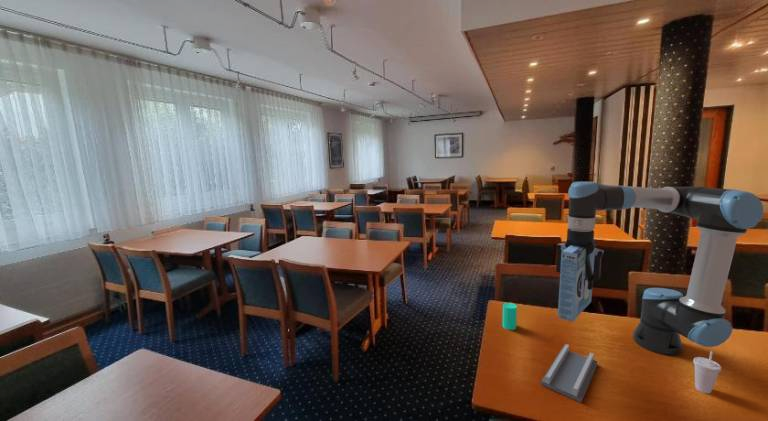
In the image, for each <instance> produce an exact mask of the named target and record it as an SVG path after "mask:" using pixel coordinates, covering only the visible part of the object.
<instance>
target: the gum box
mask: <svg viewBox="0 0 768 421" xmlns="http://www.w3.org/2000/svg"><path fill="white" fill-rule="evenodd" d="M593 244H594V246H595V247H596V244H597V243H596V240H594V241H593ZM594 253H595V252H594V251H592V252H591V253H590V254H589V257H590V258H589V259H590V263H591V267H592V271H593V272H595V258H596V255H595V254H594ZM585 255H586V248H585V247H580V246H572V245H571V246H569V247H568V248H566V247H565V249H564V250H563V251H562V255H561V272H560V273H559V274H560V275H559V290H558V305H557V307H558V308H557V318H560V319H562V320H565V321H567V322H571V323H574V321H575V320H577V318H578V317H579V316H580V315H581V314H582V313H583V311H584V310H585V309H586V308H587V307H588V306H589V305H590V304H591V303H592V296H593V288H592V289H591V290H589V294H588V298H587V299H584V289H585V280H586V279H587V278H588V277H587V273H586V269H585V266H586V260H585ZM587 257H588V256H587Z"/></svg>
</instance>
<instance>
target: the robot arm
mask: <svg viewBox="0 0 768 421" xmlns="http://www.w3.org/2000/svg"><path fill="white" fill-rule="evenodd" d="M568 188H569V189H568V193H567V195H568V197H569V198H568V217H567V227H568V228H567V231H566V241H565V242H564V243H560V242H559V243H558V244H556V245H555V248H556V251H557V252H556V253H557V254H556V255H557V256H556V264H555V265H556V268H555V272H557V273H559V274H560V272H561V255H562V251H563V250H564V249H566V248H568V247H569V246H571V245H572V246H580V247H585V248H586V255H585V260H586V266H585V269H586V273H587V277H588V278H587V279H586V280H585V289H584V299H587V298H588V294H589V290H591V289H592V290H593V287H594V281H599V280H600V279H601V275H602V272H601V271H602V257H603V254H604V253H605V250H604V249H603V248H602V249H599V248H597V247H596V245H595V246H594V244H593V241H595V239H594V238H595V231H594V229H595V228H596V227H595V226H596V214H597V211H622V210H627V209H631V208H638V209H651V210H658V211H660V212H662V213H669V214H673V215H674V214H675V215H678V216H682V217H687V218H689V219H693V220H696V228H697V229H698V230H699V231H700V235H699V240H698V244H697V247H696V252H695V256H694V262H693V265H692V268H691V274H690V277H689V278H690V279H689V283H688V287H687V290H686V291H687V292H686V295H685V296H684V295H683V293H682V292H680V291H677V290H675V289H672V288H671V289H669V288H664V287H649V288H646V289H644V290H643V295H642V298H641V299H642V301H641V311H640V321H639V323H637V326H636V327H635V329H634V330H633V335H632V339H633V341H634V342H635V343H636V344H638V345H639V346H640V347H641V348H643V349H646V350H648V351H651V352H654V353H658V354H661V355H667V356H676V355H680V354H681V353H683V342H682V339H681V336H682V337H683V338H686V339H687V340H689V341H690V342H692V343H696V345H699V346H701V347H704V348H714V347H718V346H720V345H722V344H724V343H725V342H726V341H728V339H729V338H730V337H731V336H732V333H733V326H732V325H731V324H732V323H731V322H730V321H729V320H727V319H725V317H726V313H727V310H726V309H725V308H724V306H723V305H722V301H723V297H724V292H725V288H726V285H727V281H728V277H729V273H730V269H731V265H732V261H733V257H734V254H735V250H736V245H737V241H738V238H739V237H741V236H743V235H746V234H747V230H748V229H752V228H755V227H756V226H757V225H758V223H760V222H761V221H762V218H763V216H764V205H763V202H762V200H761V199H759V197H758V196H757V195H756V194H754V193H752V192H749V191H743V190H738V189H730V188H717V187H707V186H664V187H662V188H656V187H655V188H653V187H643V186H631V185H630V186H627V185H615V184H605V183H603V184H602V183H597V182H596V181H573V182H572V183H571V184H570V186H569V187H568ZM592 251H594V252H595V253H594V254H595V258H594V271H592V267H591V263H590V259H589V258H590V257H589V254H590V253H591V252H592ZM587 256H588V257H587Z"/></svg>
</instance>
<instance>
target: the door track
mask: <svg viewBox="0 0 768 421" xmlns="http://www.w3.org/2000/svg"><path fill="white" fill-rule="evenodd" d="M556 355H557V356H556V357H555V359H554V360H553V362H552V364H551V365H550V366H549V368H548V370H547V371H546V372H545V375H543V378H542V379H541V381H540V382H541V383H540V385H541V386H543V387H546V388H547V389H549V390H552V391H554V392H556V393H557V394H560V395H563V396H565V397H568V398H569V399H572V400H573V401H576V402H578V403H582V402H583V400H584V397H585V395H586V392H587V390H588V387H589V385H590V383H591V381H592V379H593V376H594V374H595V371H596V368H597V366H598V360H596V359H595V358H594V357H595V356H594V355H595V354H594V353H593V352H589V354H588V356H584V355H582V354H578V353H575V352H572V351H570V344H566V343H565V344H564V346H563V347H562V348H560V351H559V352H558V354H556Z"/></svg>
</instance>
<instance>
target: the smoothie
mask: <svg viewBox="0 0 768 421" xmlns="http://www.w3.org/2000/svg"><path fill="white" fill-rule="evenodd" d="M712 359H713V351H712V350H710V352H709V358H706V357H703V356H702V357H700V356H697V357H694V358H693V362H692V363H693V364H694V388H695V389H696V390H697V391H699V392H701V393H704V394H709V395H710V394H711V393H712V392H713V388H714V386H715V383H716V381H717V378H718V376H719V373H720V372H721V371H722V366H721V365H720V364H719V363H718V362H716V361H715V360H712Z"/></svg>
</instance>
